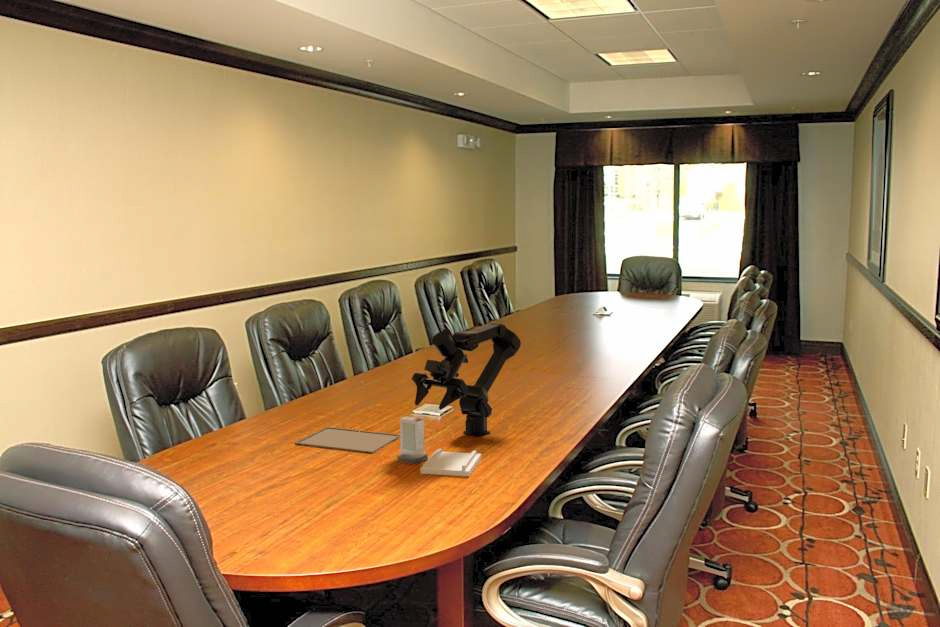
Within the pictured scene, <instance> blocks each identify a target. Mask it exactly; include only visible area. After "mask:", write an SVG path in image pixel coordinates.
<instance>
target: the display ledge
mask: <svg viewBox="0 0 940 627" xmlns="http://www.w3.org/2000/svg"><path fill="white" fill-rule="evenodd" d="M442 450H443V449H442V448H437V450H435V451H434V452H433V453H432V454H431V456H429V457H428V459H427V460H425V461H424V464H423V465H422V466H420V468H419V469H420V470H419V471H420V473H419V474H423V475H435V476H436V475H438V476H439V475H440V476H453V477H454V476H456V477H467V476H469V477H470V476H471V475H470V474H473V472H474V470H475V469H476V467H477V466H478V464H479V463H480V462H481V460H482V453H477V450H475V449H474V450H472V451H471V452H457V451H454V452H453V451H442ZM476 465H477V466H476ZM474 468H475V469H474ZM472 471H473V472H472Z"/></svg>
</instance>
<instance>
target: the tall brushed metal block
mask: <svg viewBox="0 0 940 627" xmlns="http://www.w3.org/2000/svg"><path fill="white" fill-rule="evenodd" d="M424 422H425V420H424V418H420V417H419V418H418V417H413V416H412V417H411V416H403V417H401V418H399V432H400V433H399V435H400V438H399V440H400V454H399V455H397V462H400V461H402V462H401V463H404V462H406V464H409V465H413V464H414V466H415V464H416V465H418V464H420V463H422V461H423V462H425V461H427V460H428V459H429V457H428V453H425V426H424V424H425V423H424ZM424 460H425V461H424Z"/></svg>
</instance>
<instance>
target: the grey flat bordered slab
mask: <svg viewBox="0 0 940 627" xmlns="http://www.w3.org/2000/svg"><path fill="white" fill-rule="evenodd" d="M359 431H360V432H359ZM399 437H400V434H398V433H396V434H395V433H387V432H377V431H368V430H359V429H350V428H341V427H332V426H331V427H330V426H326V427H325V428H321V429H320V430H318V431H316V432H314V433H312V434H310V435H308V436H306V437H304V438H301V439H299V440H297V441H296V442H294V445H295V444H301V445H300V446H303V445H308V446H307V447H311V446H316V447H315V448H320V447H325V448H324V449H328V448H333V449H332V450H337V449H343V450H342V451H345V450H352V451H351V452H354V451H361V452H360V453H362V452H368V453H367V454H371V453H373V454H375V453H377V452H378V451H377V450H379V449H380V448H382V447H384V446H385V445H387V444H389V443H390V444H392V443H393V442H392V441H394V440H395V441H397V440H398V439H397V438H399ZM396 439H397V440H396ZM399 439H400V438H399ZM395 441H394V442H395ZM391 442H392V443H391ZM390 444H389V445H390ZM387 446H388V445H387ZM385 447H386V446H385ZM385 447H384V448H385ZM382 449H383V448H382ZM380 450H381V449H380ZM380 450H379V451H380ZM376 451H377V452H376ZM374 452H375V453H374Z"/></svg>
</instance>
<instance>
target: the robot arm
mask: <svg viewBox="0 0 940 627" xmlns="http://www.w3.org/2000/svg"><path fill="white" fill-rule="evenodd" d="M489 340H490V341H491V342H492V349H493V353H492V355H491V356H490V358H489V360H488V361H487V363H486V365H485V366H484V368H483V370H482V372H481V373H480V375H479V376H478V377H477V380H476V382H475V383H474V384H473V385H472V384H471V385H470V384H467V383H466V382H465V381H464V379H462V378H459V375H460V374H459V370H460V369H461V366H462V365H463V364H468V363H469V359H468V354H466V353H464V352H473V351H475V350H476V349H478V347H480V346H479V345H480V344H482V343H484V342H486V341H489ZM431 343H432V344H433V346H434V347H435V349H436V351H438V353H439V354H440V355H441V357H444V358H443V359H442V360H440V361H438V360H433V359H426V361H425V365H424V369H423V370H425V371H426V372H427V371H428V372H429V375H430V376H431V377H432V378H429V377H428V375H427V374H426V373H424V372H414V373H413V375H412V376H411V381H413V382H414V384H415V386H416V391H415V393H416V394H415V400H414V405H415V406H416V407H417V406H418V405H420V404H421V402H422V401H423V400H424V399H425V398H426V397H427V396H428V394H429V393H430V391H429V390H431V388H432V386H433V387H438V388H444V389H446V392H445V394H444V395H443V398H442V399H441V401H440V402H439V406H438V409H439V410H440V411H441V410H443V409H445V408H446V407H448V406H449V405H451V404H452V403H454V402H456V401H457V400H459V408H460V410H461V415H465V417H466V418H465V419H466V420H465V430H464V431H463V434H467V435H469V436H472V437H480V436H484V435H488V434H491V430H488V418H489V417H490V416H492V413H493V411H492V410H493V408H492V407H491V405H490V404H489V394H488V393H489V391H490V389H491V387H492V385H493V384H494V382H495V381H496V378H497V377H498V375H499V373H500V371H501V370H502V368H503V366H504V365H505V364H506V361H507V360H509V359H511V358H512V357H514V356H515V355H516V353H517V352H518V351H519V350H520V349H521V343H522V342H521V340H520V338H519V336H518V335H517V334H516V333H515V332H513V331H512V330H510V329H509V328H508V327H507V326H506V325H505V324H503V323H497V322H492V323H489V324H488V325H484V326H482V327H480V328H477V329H474V330H471V331H469V330H468V331H467V330H466V331H455V332H454V333H453V334H452V332H451V330H450V329H449V328H443V329H442V331H439V332H437V333H436V334H434V335H433V337H432V339H431Z"/></svg>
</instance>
